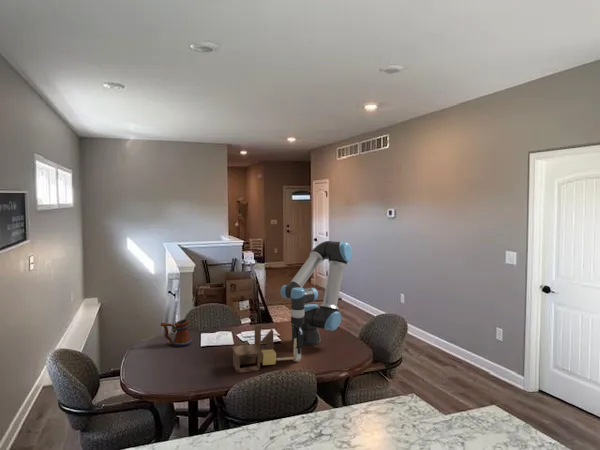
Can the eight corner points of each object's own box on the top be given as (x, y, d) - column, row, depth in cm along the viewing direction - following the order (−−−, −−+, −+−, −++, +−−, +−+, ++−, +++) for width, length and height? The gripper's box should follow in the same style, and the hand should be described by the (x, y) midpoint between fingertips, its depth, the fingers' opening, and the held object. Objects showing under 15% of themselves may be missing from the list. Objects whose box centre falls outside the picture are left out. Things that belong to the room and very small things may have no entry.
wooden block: (273, 355, 242) (273, 324, 241) (255, 357, 238) (255, 326, 237) (271, 353, 245) (271, 322, 244) (253, 355, 242) (253, 324, 240)
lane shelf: (255, 361, 232) (255, 343, 232) (261, 369, 221) (261, 351, 221) (231, 364, 228) (231, 346, 227) (236, 373, 217) (236, 354, 216)
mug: (160, 349, 250) (160, 324, 249) (160, 343, 261) (160, 319, 260) (192, 346, 255) (192, 321, 254) (191, 340, 266) (190, 316, 265)
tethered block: (297, 358, 238) (298, 337, 237) (301, 362, 232) (302, 340, 232) (260, 361, 230) (261, 339, 230) (263, 365, 225) (264, 343, 224)
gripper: (286, 312, 239) (286, 353, 241) (296, 321, 224) (295, 364, 225) (298, 311, 242) (298, 351, 244) (309, 319, 226) (309, 362, 228)
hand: (297, 357), depth 234 cm, fingers closed on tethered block, 4 cm apart
